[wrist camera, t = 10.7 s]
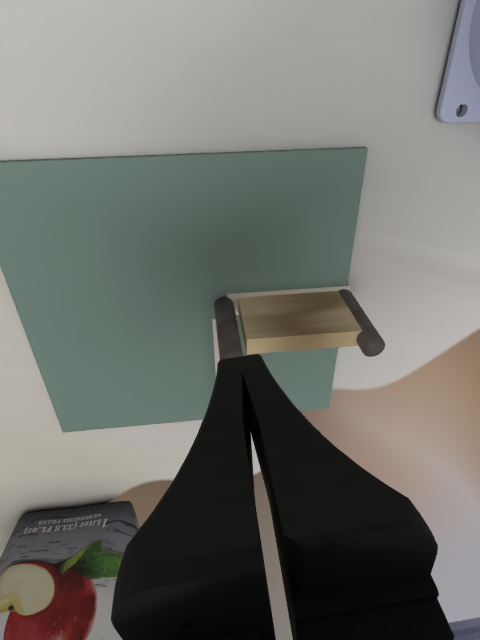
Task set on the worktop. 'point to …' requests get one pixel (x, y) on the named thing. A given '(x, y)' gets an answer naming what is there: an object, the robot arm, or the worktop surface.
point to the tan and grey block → (295, 324)
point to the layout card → (169, 270)
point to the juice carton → (64, 572)
